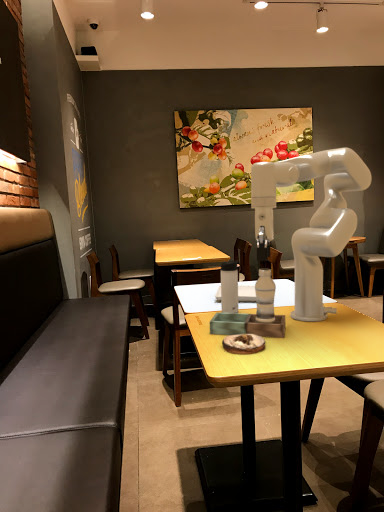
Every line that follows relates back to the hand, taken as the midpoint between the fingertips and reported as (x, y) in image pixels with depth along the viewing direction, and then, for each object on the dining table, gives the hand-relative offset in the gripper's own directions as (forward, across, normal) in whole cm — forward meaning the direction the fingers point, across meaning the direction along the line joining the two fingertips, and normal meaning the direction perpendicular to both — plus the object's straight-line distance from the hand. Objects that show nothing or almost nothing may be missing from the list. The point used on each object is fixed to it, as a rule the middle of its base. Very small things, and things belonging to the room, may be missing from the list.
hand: (263, 258), depth 124 cm
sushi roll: (+24, -14, +5) cm, 29 cm away
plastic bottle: (+24, +1, 0) cm, 24 cm away
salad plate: (+24, +46, +14) cm, 54 cm away
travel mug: (+24, +19, +14) cm, 33 cm away
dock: (+24, +1, +5) cm, 24 cm away
